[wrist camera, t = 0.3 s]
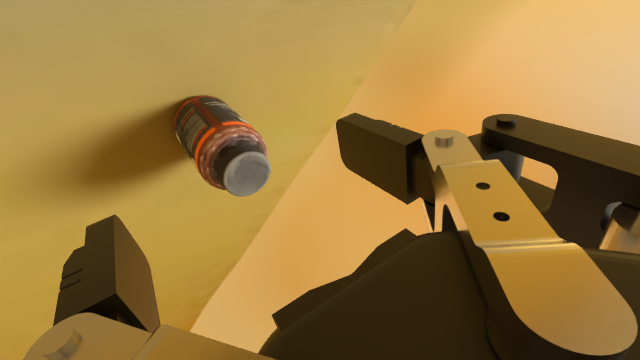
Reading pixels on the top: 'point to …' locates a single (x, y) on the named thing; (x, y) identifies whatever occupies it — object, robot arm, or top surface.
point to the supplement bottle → (222, 146)
